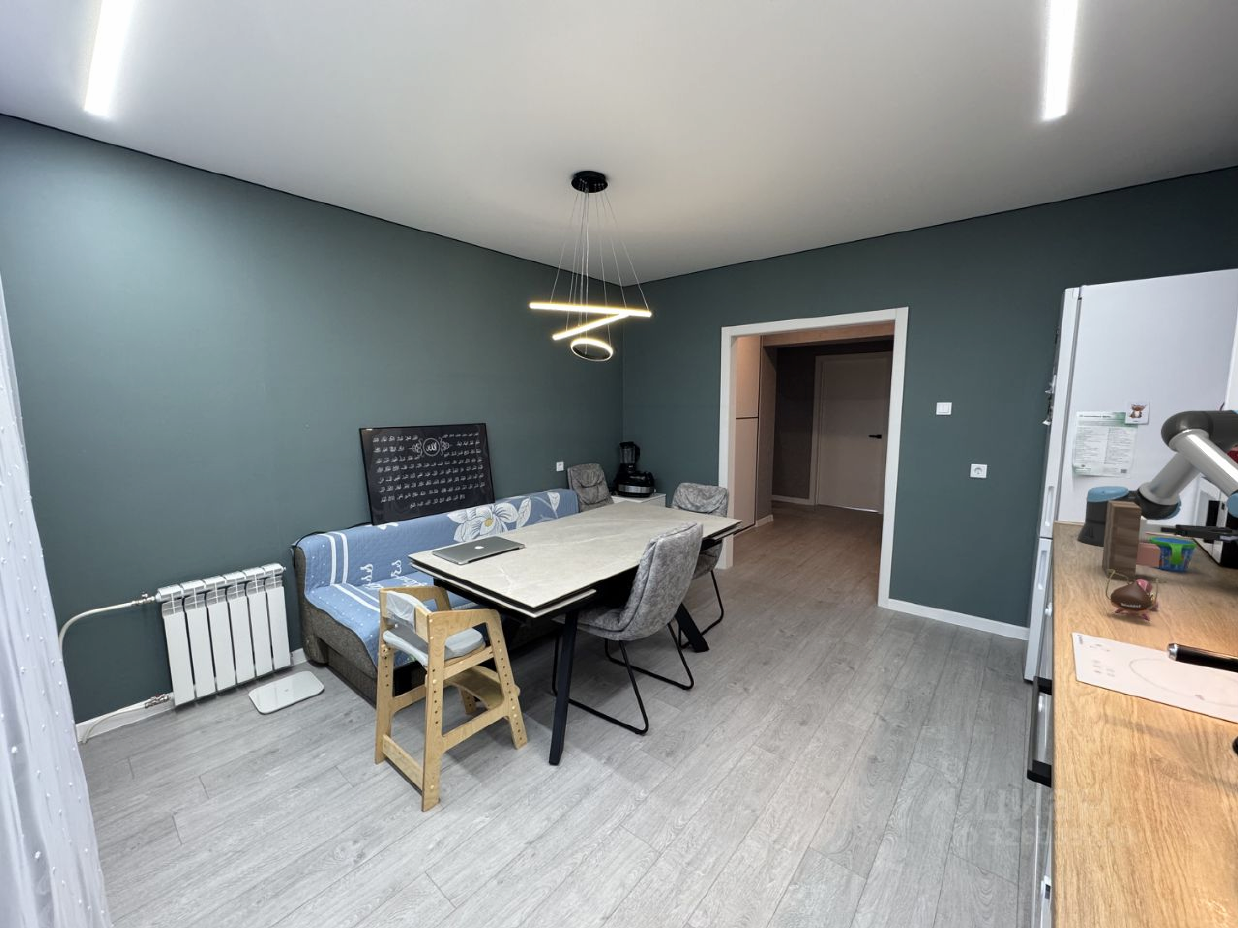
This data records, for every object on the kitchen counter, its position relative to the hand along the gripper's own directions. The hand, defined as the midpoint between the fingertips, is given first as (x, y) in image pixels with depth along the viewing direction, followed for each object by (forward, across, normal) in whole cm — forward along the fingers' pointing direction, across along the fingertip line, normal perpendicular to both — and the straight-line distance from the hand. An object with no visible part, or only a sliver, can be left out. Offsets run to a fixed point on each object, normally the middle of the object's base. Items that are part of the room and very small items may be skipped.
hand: (1144, 527), depth 158 cm
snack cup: (-10, +18, -17) cm, 27 cm away
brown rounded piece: (+7, -40, -17) cm, 44 cm away
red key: (-1, 0, -12) cm, 12 cm away
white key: (+3, 0, -3) cm, 4 cm away
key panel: (+5, 0, -17) cm, 18 cm away
